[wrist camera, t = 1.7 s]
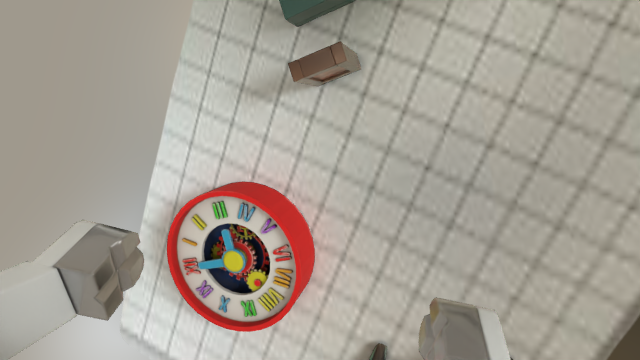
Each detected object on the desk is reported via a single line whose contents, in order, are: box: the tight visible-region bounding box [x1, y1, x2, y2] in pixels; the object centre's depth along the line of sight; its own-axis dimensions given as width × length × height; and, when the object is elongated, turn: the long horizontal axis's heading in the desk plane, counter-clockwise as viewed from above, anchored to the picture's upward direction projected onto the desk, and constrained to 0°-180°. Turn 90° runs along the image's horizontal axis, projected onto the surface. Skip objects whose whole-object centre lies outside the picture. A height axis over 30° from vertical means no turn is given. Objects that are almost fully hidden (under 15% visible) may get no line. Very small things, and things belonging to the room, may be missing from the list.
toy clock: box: [167, 182, 315, 332], centre depth 52 cm, size 20×6×20 cm
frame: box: [288, 42, 361, 86], centre depth 42 cm, size 2×6×9 cm, turn 108°
